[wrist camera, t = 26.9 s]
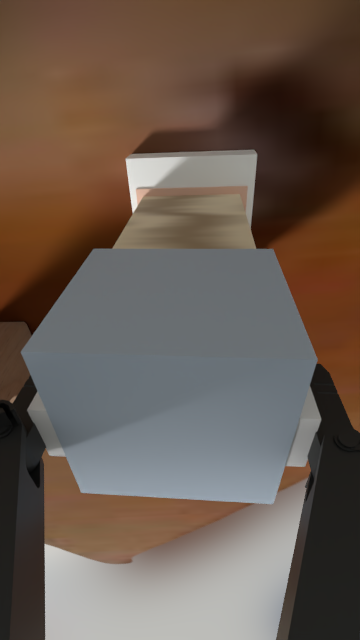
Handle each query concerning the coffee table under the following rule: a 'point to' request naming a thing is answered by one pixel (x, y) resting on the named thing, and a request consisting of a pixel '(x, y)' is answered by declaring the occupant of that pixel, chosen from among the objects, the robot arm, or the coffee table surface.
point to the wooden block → (12, 359)
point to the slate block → (175, 373)
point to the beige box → (188, 223)
